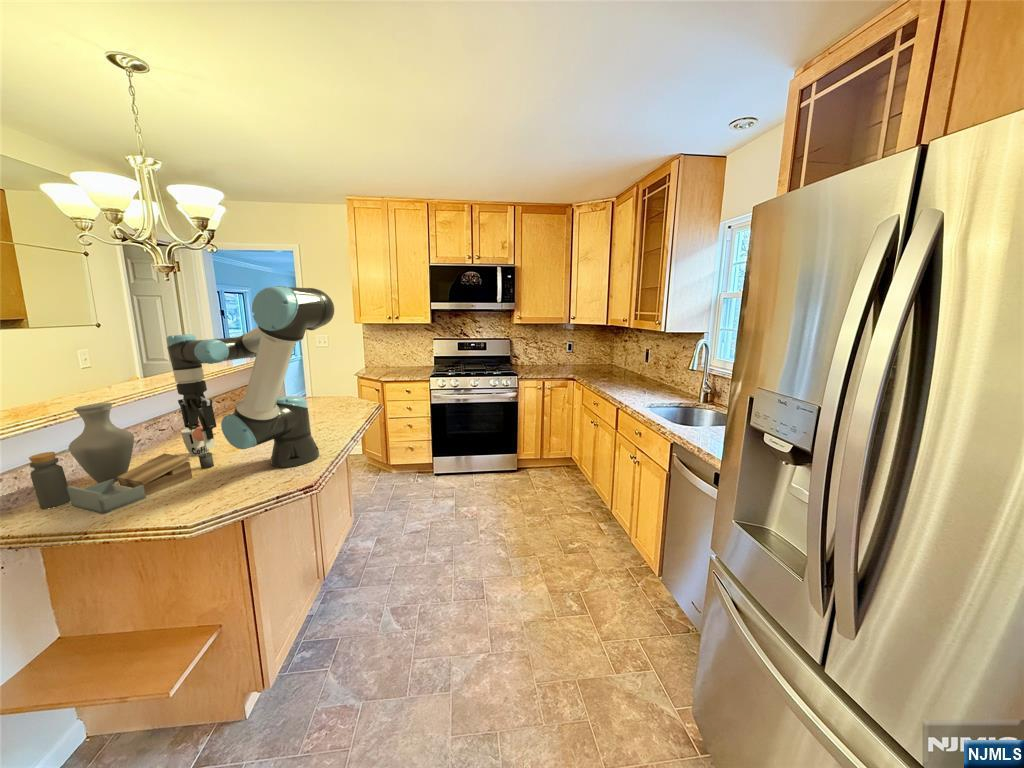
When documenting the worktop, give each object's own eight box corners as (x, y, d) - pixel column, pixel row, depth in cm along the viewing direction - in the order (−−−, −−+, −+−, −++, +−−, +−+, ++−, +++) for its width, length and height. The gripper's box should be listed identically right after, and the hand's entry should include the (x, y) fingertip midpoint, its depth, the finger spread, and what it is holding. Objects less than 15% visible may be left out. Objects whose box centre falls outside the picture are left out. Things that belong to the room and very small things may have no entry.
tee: (216, 465, 134) (214, 452, 133) (205, 469, 130) (203, 456, 129) (209, 464, 135) (207, 451, 134) (198, 468, 131) (195, 455, 131)
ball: (216, 438, 132) (213, 424, 131) (200, 443, 127) (197, 429, 126) (206, 437, 134) (203, 424, 133) (190, 442, 129) (187, 428, 128)
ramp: (193, 477, 124) (189, 456, 123) (144, 496, 112) (139, 473, 111) (169, 473, 128) (165, 453, 126) (120, 491, 116) (114, 468, 115)
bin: (146, 497, 111) (141, 478, 110) (103, 514, 102) (97, 493, 101) (115, 491, 116) (110, 472, 115) (72, 506, 107) (66, 486, 106)
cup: (189, 459, 140) (184, 433, 138) (183, 455, 145) (178, 429, 143) (216, 452, 146) (211, 427, 144) (209, 448, 151) (204, 424, 149)
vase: (148, 475, 127) (131, 402, 122) (85, 493, 115) (63, 414, 110) (134, 467, 134) (118, 398, 130) (74, 483, 123) (53, 408, 118)
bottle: (71, 503, 109) (57, 454, 106) (39, 511, 105) (24, 460, 102) (71, 497, 113) (58, 449, 110) (41, 505, 109) (26, 455, 106)
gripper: (220, 379, 127) (234, 445, 131) (185, 379, 133) (199, 442, 137) (196, 383, 120) (211, 453, 124) (160, 383, 126) (175, 449, 130)
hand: (205, 447), depth 131 cm, fingers closed on ball, 5 cm apart
